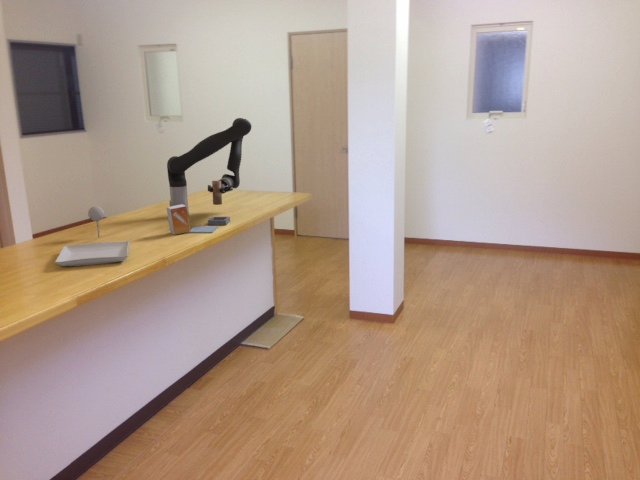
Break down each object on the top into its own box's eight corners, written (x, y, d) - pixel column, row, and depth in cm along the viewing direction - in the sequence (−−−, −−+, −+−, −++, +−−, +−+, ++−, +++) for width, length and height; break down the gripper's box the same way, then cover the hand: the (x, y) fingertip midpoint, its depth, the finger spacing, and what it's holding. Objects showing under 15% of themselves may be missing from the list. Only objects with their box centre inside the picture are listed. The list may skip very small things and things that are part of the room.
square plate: (129, 264, 225) (128, 255, 224) (55, 271, 218) (54, 261, 217) (130, 247, 250) (130, 239, 249) (64, 253, 243) (63, 244, 242)
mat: (188, 232, 274) (188, 231, 274) (195, 227, 286) (195, 226, 286) (212, 233, 274) (212, 231, 273) (218, 227, 285) (218, 226, 285)
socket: (208, 225, 291) (207, 220, 290) (212, 221, 300) (212, 216, 299) (226, 225, 290) (225, 220, 289) (230, 221, 299) (229, 216, 299)
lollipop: (110, 235, 271) (106, 205, 267) (99, 239, 264) (96, 208, 261) (97, 234, 273) (94, 204, 269) (87, 238, 267) (84, 207, 263)
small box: (174, 235, 270) (170, 209, 266) (170, 232, 275) (165, 207, 271) (190, 231, 274) (186, 205, 270) (186, 229, 279) (181, 203, 275)
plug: (212, 204, 290) (211, 181, 287) (214, 203, 295) (213, 180, 292) (220, 204, 290) (219, 181, 287) (222, 203, 294) (222, 180, 291)
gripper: (210, 178, 304) (201, 183, 287) (236, 178, 303) (229, 183, 286) (210, 192, 306) (202, 197, 289) (236, 192, 305) (229, 198, 288)
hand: (215, 190), depth 288 cm, fingers closed on plug, 4 cm apart
